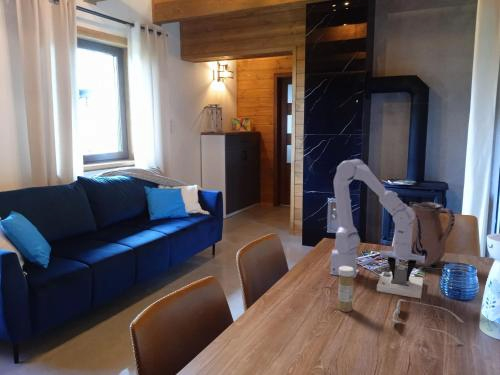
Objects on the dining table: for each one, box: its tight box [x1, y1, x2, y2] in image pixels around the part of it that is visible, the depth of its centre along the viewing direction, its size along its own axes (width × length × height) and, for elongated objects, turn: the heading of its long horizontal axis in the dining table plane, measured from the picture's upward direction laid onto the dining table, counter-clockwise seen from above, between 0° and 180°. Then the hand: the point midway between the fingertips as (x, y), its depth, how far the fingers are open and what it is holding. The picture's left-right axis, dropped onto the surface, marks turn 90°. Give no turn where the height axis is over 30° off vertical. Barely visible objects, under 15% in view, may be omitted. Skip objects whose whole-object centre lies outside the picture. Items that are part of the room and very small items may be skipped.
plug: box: [393, 264, 408, 286], centre depth 138 cm, size 4×4×7 cm
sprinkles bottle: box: [337, 266, 354, 313], centre depth 122 cm, size 5×5×14 cm
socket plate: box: [376, 271, 424, 299], centre depth 139 cm, size 14×14×3 cm
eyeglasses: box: [392, 299, 465, 346], centre depth 112 cm, size 15×18×4 cm
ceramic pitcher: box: [406, 201, 456, 267], centre depth 160 cm, size 18×21×25 cm
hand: (400, 279), depth 139 cm, fingers closed on plug, 4 cm apart
